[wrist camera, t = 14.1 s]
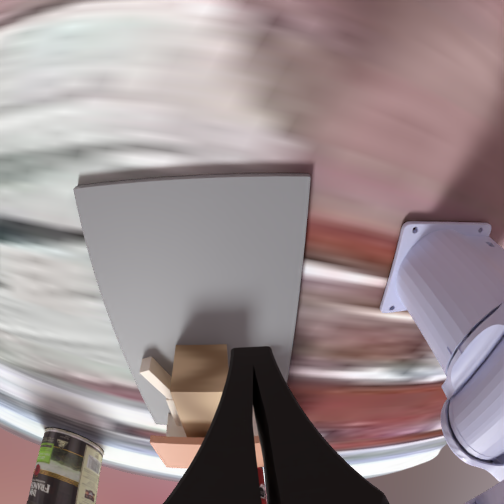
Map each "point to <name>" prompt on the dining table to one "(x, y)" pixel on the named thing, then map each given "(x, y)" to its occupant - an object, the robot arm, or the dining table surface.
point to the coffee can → (66, 469)
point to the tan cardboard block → (198, 385)
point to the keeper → (196, 275)
